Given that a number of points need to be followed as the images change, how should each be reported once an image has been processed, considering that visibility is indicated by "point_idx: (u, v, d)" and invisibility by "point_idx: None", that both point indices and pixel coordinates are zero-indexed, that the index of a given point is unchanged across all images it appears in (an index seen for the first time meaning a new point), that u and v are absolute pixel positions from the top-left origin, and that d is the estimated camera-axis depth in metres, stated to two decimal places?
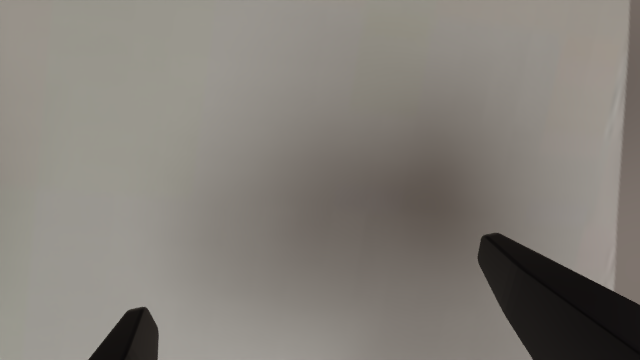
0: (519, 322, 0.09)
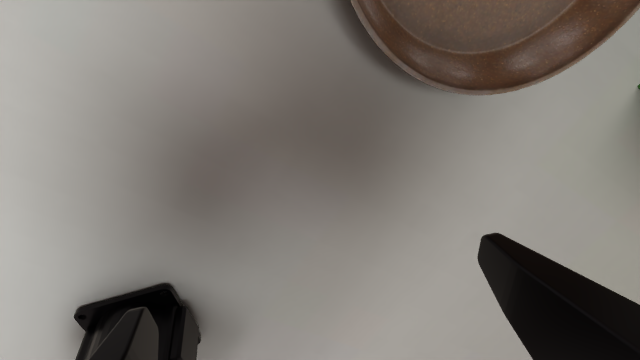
0: (519, 322, 0.09)
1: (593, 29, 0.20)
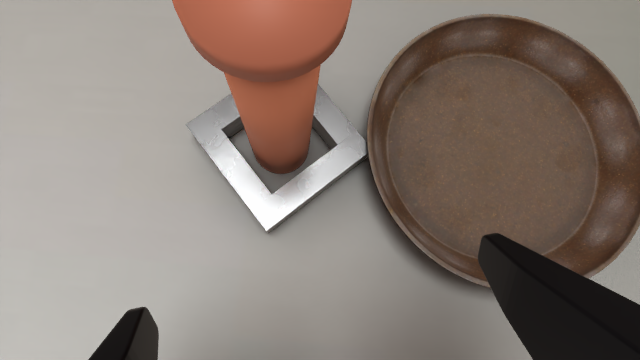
0: (519, 322, 0.09)
1: (631, 185, 0.23)
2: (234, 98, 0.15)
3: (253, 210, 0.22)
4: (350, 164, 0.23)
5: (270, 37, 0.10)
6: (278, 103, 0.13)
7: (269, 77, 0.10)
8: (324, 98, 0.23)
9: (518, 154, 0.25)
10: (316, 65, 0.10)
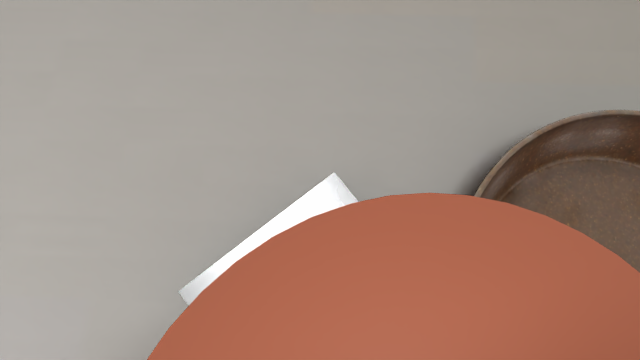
0: None
1: None
2: None
3: None
4: None
5: None
6: None
7: None
8: None
9: None
10: None
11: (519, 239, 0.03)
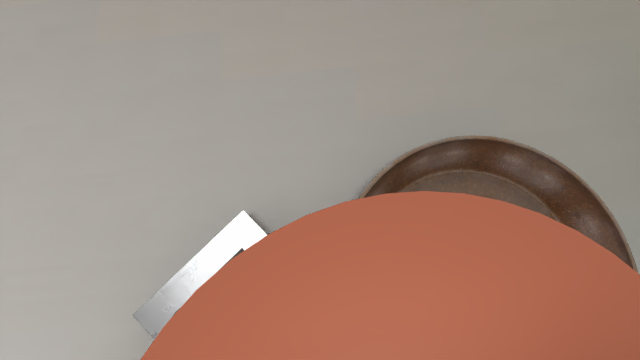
0: None
1: None
2: None
3: None
4: None
5: None
6: None
7: None
8: None
9: None
10: None
11: (514, 238, 0.03)
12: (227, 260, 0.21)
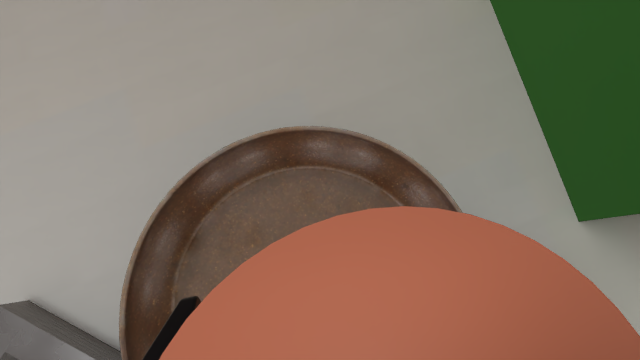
0: None
1: None
2: None
3: None
4: None
5: None
6: None
7: None
8: (61, 348, 0.17)
9: None
10: None
11: (480, 246, 0.03)
12: None
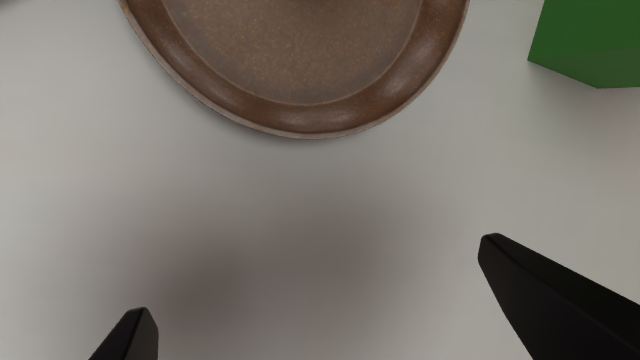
0: (519, 322, 0.09)
1: (442, 34, 0.21)
2: None
3: None
4: None
5: None
6: None
7: None
8: None
9: None
10: None
11: None
12: None
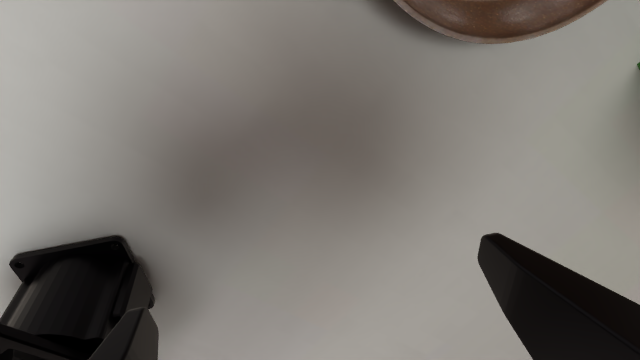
0: (519, 322, 0.09)
1: None
2: None
3: None
4: None
5: None
6: None
7: None
8: None
9: None
10: None
11: None
12: None
